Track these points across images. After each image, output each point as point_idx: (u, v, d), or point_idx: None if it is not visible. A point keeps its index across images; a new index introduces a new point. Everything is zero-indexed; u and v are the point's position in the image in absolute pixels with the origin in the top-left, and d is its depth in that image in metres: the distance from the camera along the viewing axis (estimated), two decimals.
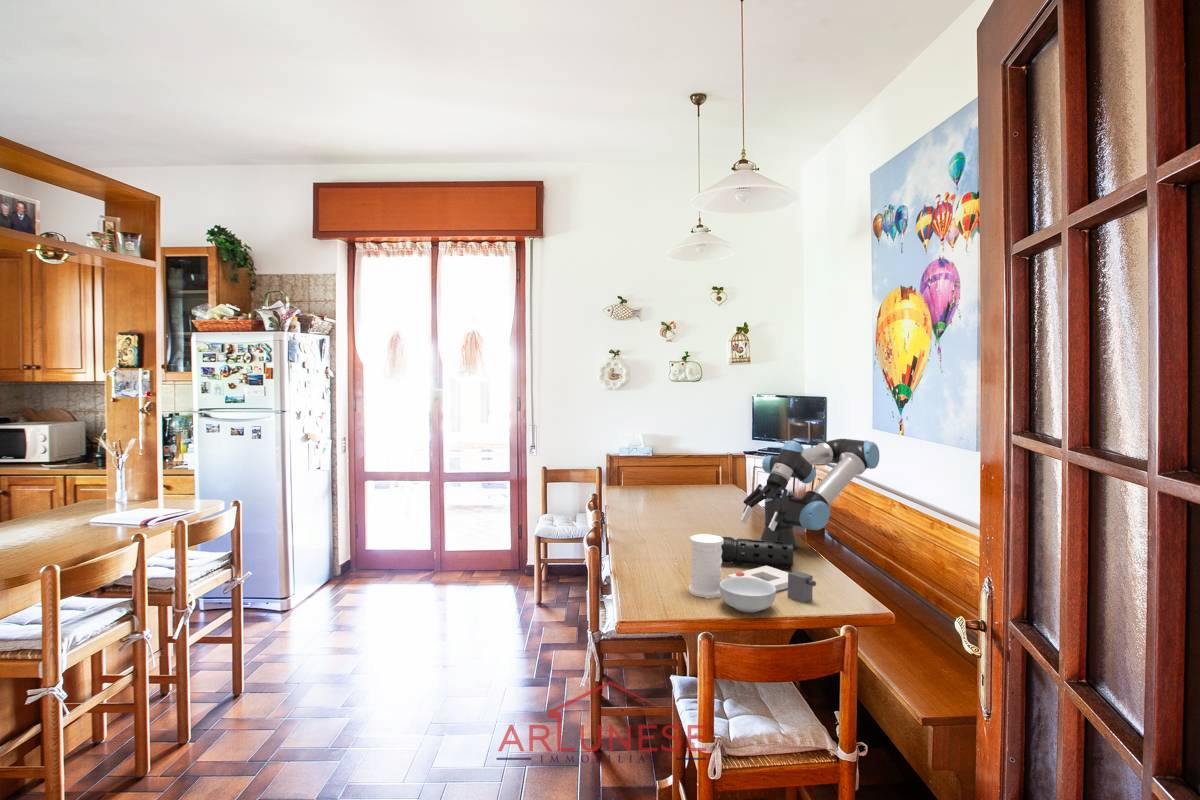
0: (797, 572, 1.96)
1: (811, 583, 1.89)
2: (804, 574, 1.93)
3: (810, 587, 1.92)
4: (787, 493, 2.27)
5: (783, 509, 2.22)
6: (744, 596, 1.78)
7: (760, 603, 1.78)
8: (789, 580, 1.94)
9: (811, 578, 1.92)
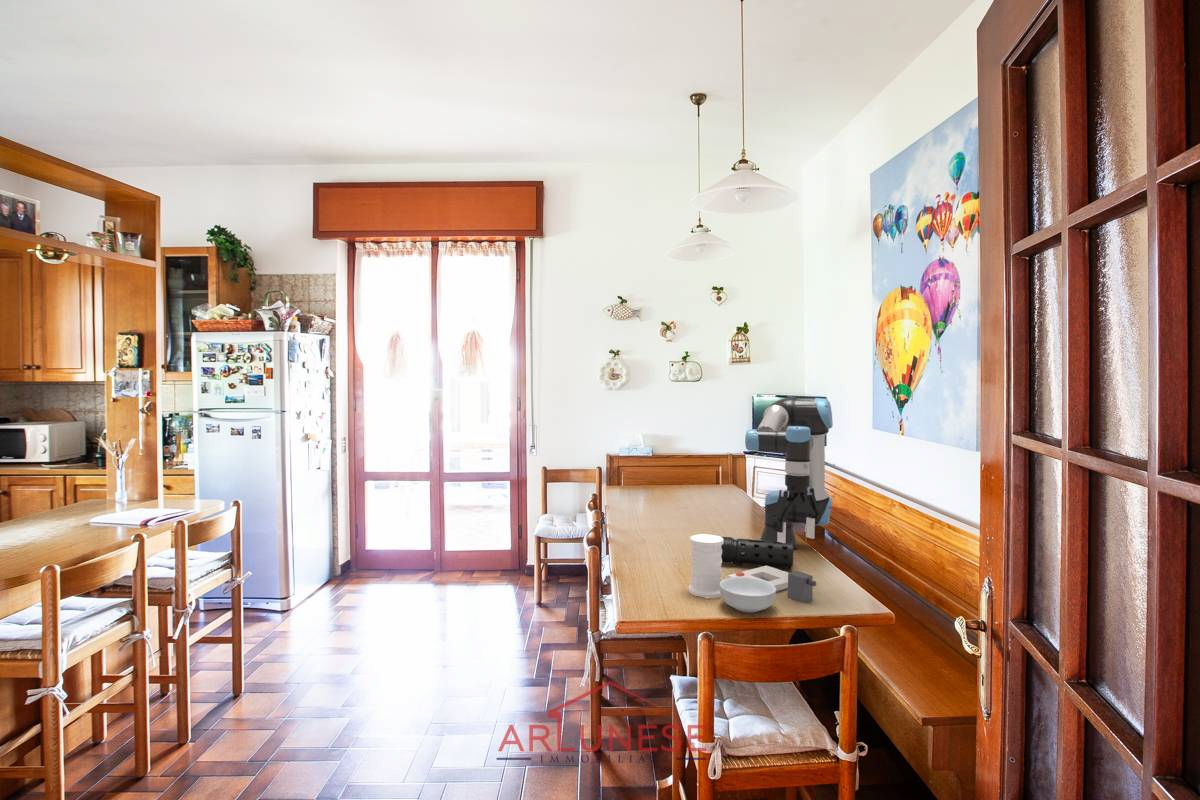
0: (797, 572, 1.96)
1: (811, 583, 1.89)
2: (804, 574, 1.93)
3: (810, 587, 1.92)
4: None
5: (818, 513, 1.98)
6: (744, 596, 1.78)
7: (760, 603, 1.78)
8: (789, 580, 1.94)
9: (811, 578, 1.92)
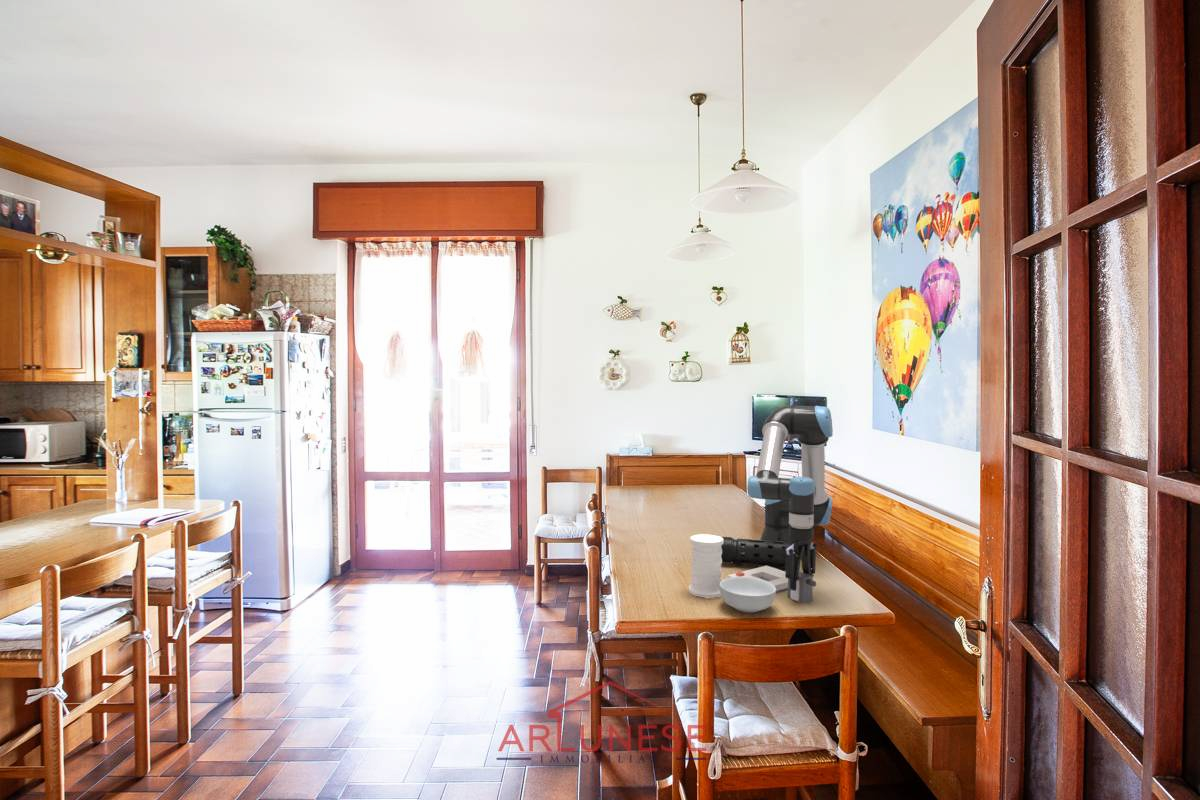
0: None
1: (811, 583, 1.89)
2: (804, 574, 1.93)
3: (810, 587, 1.92)
4: None
5: (813, 570, 1.95)
6: (744, 596, 1.78)
7: (760, 603, 1.78)
8: (789, 580, 1.94)
9: (811, 578, 1.92)
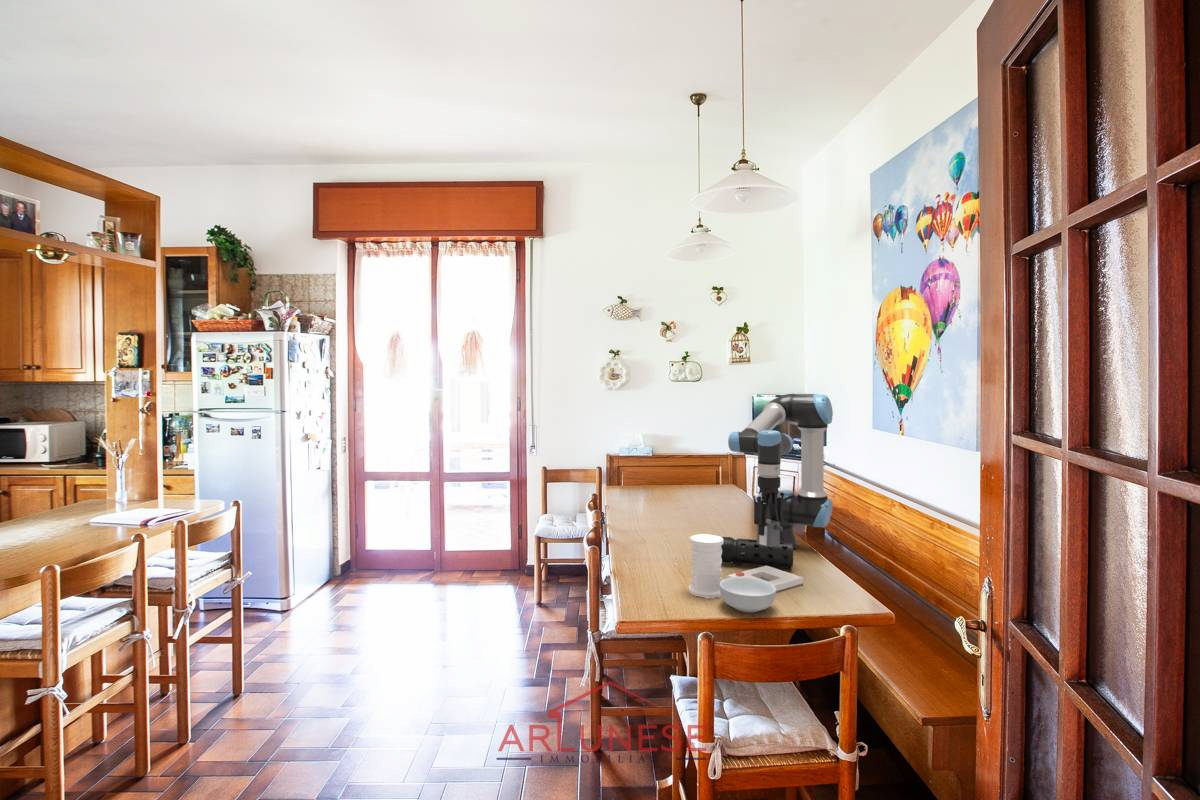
0: (766, 519, 2.09)
1: (778, 528, 2.02)
2: (772, 521, 2.07)
3: (777, 532, 2.05)
4: None
5: (781, 518, 2.09)
6: (744, 596, 1.78)
7: (760, 603, 1.78)
8: (758, 527, 2.08)
9: (778, 524, 2.05)
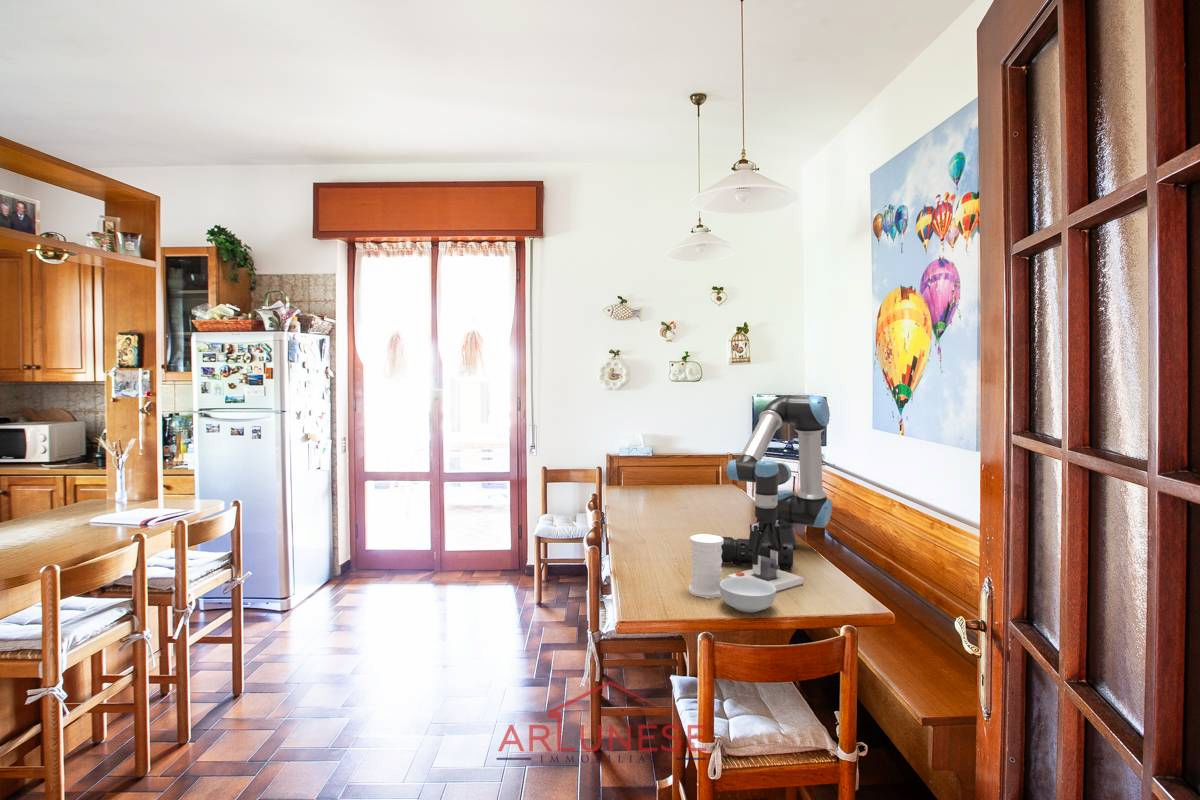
0: (762, 557, 2.10)
1: (775, 567, 2.04)
2: (769, 559, 2.08)
3: (774, 571, 2.06)
4: None
5: (781, 545, 2.11)
6: (744, 596, 1.78)
7: (760, 603, 1.78)
8: None
9: (775, 562, 2.06)
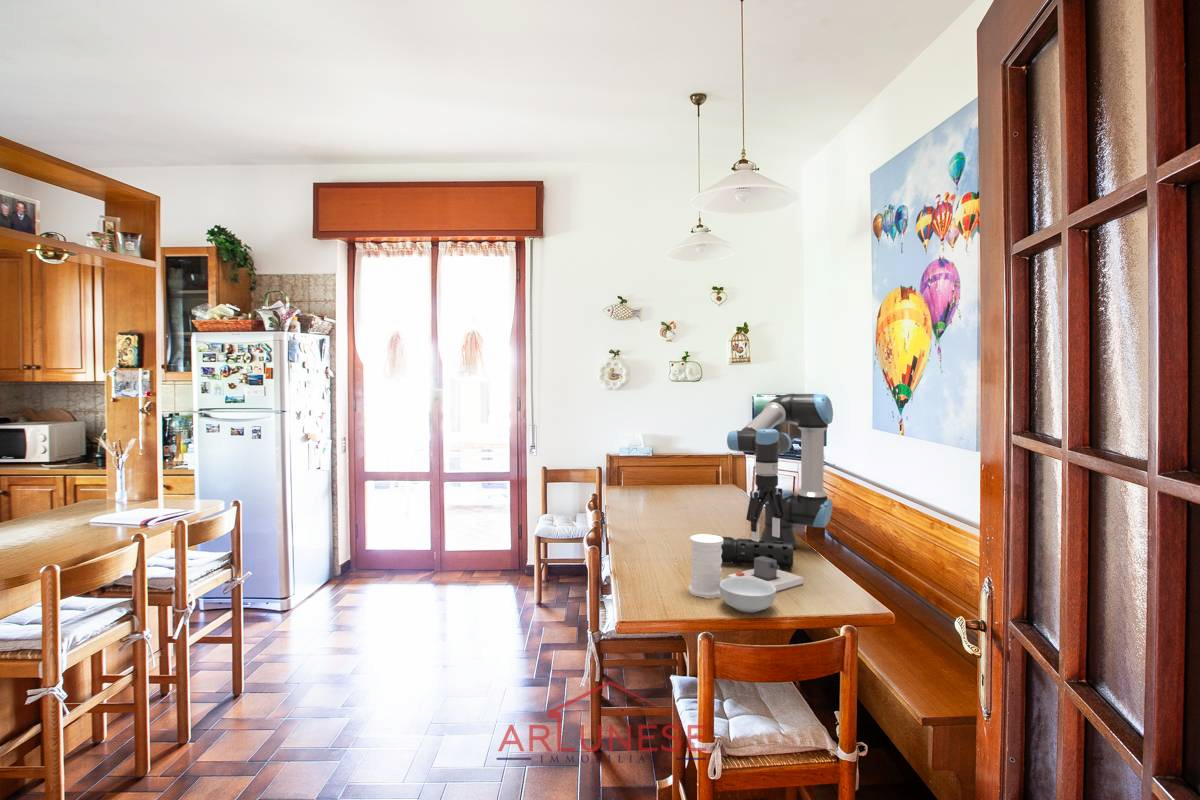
0: (762, 557, 2.10)
1: (775, 567, 2.04)
2: (769, 559, 2.08)
3: (774, 571, 2.06)
4: None
5: (783, 513, 2.11)
6: (744, 596, 1.78)
7: (760, 603, 1.78)
8: (755, 565, 2.09)
9: (775, 562, 2.06)
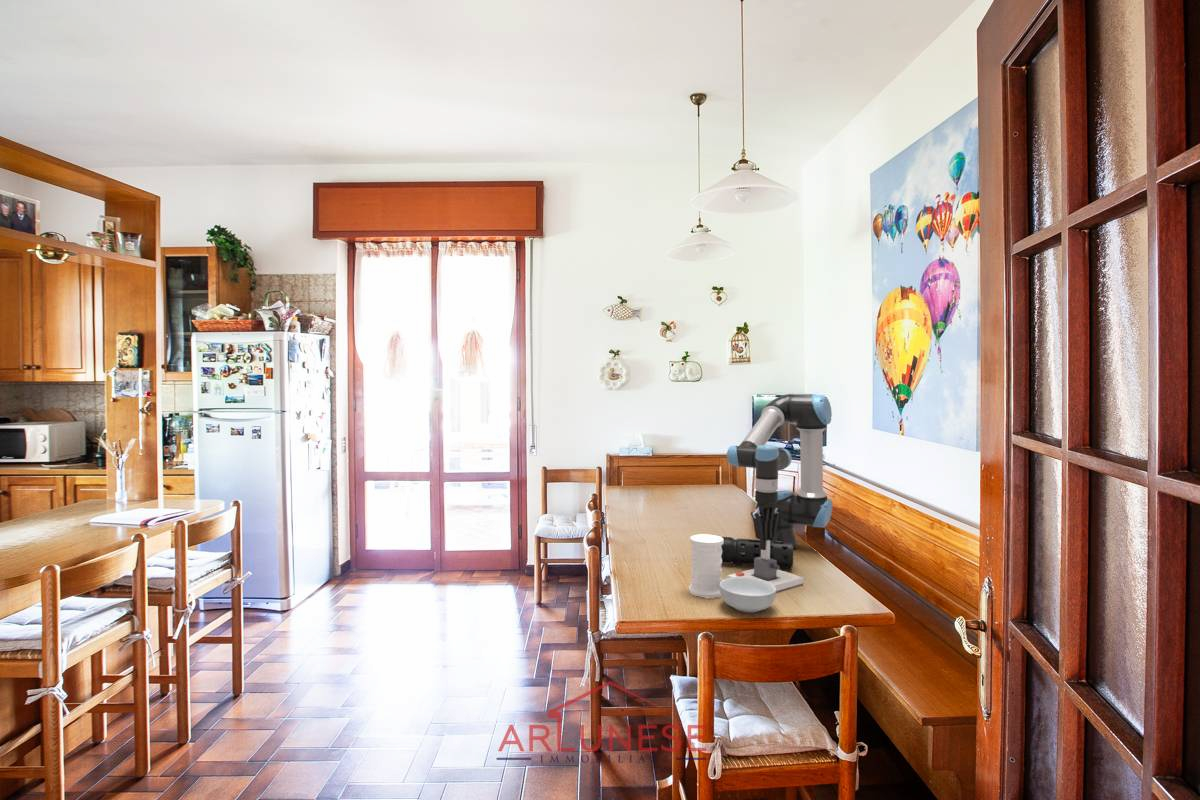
0: None
1: (775, 567, 2.04)
2: None
3: (774, 571, 2.06)
4: None
5: (774, 534, 2.08)
6: (744, 596, 1.78)
7: (760, 603, 1.78)
8: (755, 565, 2.09)
9: (775, 562, 2.06)
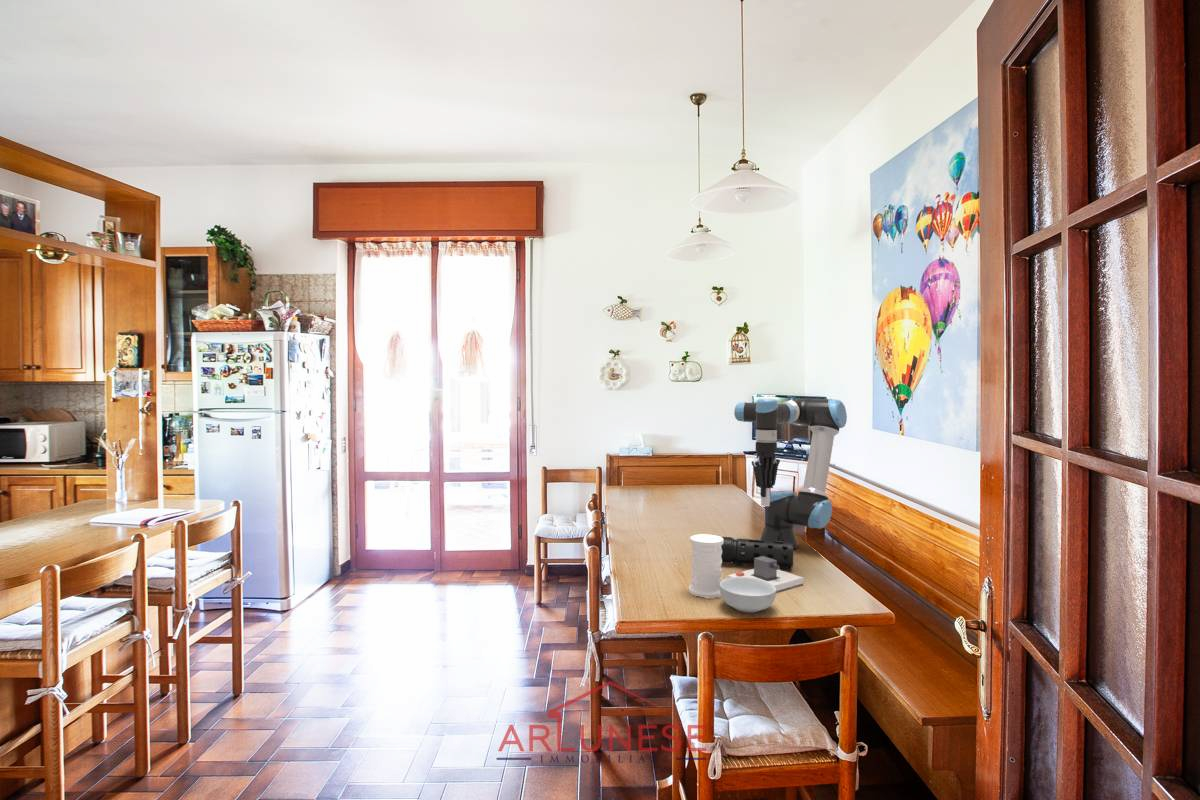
0: (762, 557, 2.10)
1: (775, 567, 2.04)
2: (769, 559, 2.08)
3: (774, 571, 2.06)
4: None
5: (773, 482, 2.21)
6: (744, 596, 1.78)
7: (760, 603, 1.78)
8: (755, 565, 2.09)
9: (775, 562, 2.06)
